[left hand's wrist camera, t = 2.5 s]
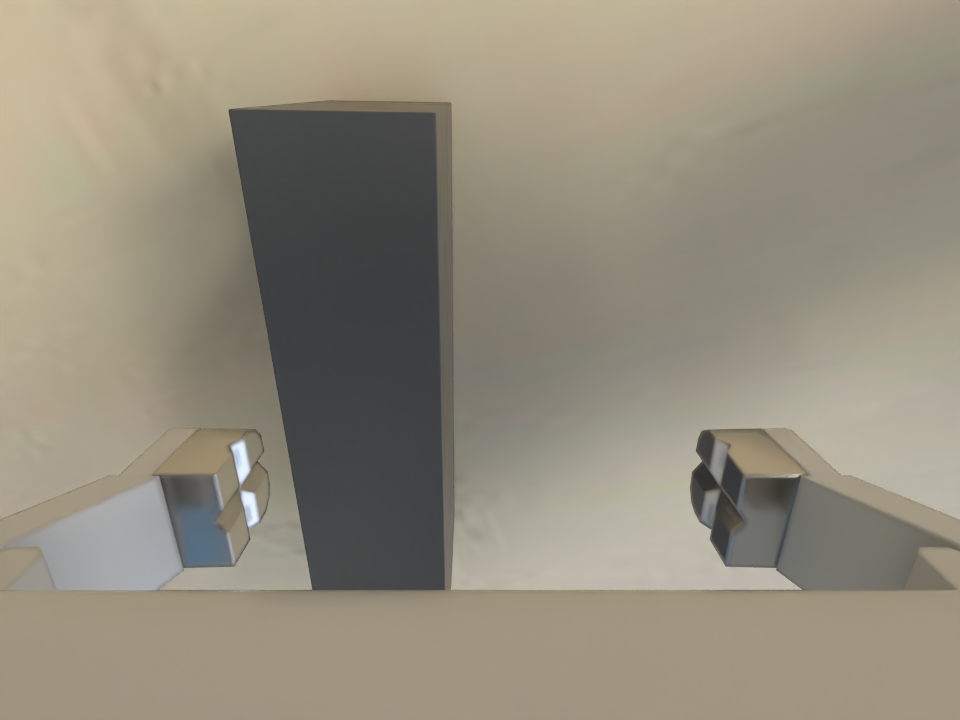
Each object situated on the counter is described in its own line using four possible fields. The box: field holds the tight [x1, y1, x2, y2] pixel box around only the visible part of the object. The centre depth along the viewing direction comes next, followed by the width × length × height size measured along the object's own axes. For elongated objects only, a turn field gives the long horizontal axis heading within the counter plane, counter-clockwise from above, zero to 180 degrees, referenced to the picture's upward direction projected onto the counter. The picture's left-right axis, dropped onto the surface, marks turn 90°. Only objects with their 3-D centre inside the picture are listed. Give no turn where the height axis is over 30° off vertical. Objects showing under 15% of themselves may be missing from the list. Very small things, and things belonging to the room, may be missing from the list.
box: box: [229, 101, 454, 590], centre depth 28 cm, size 27×6×12 cm, turn 179°
